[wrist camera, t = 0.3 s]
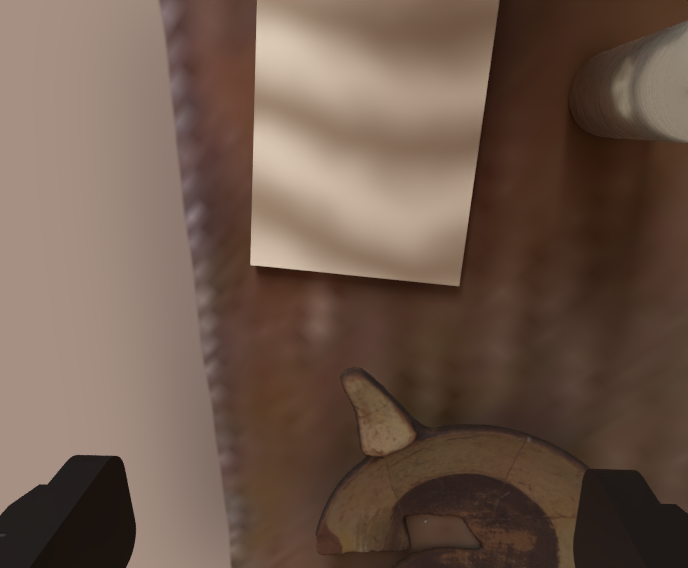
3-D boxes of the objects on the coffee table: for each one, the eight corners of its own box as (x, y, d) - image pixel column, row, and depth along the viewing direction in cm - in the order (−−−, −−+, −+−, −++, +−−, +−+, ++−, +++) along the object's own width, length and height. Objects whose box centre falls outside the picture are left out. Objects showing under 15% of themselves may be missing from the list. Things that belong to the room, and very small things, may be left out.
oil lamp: (344, 652, 47) (332, 748, 40) (296, 329, 39) (270, 376, 32) (616, 656, 44) (657, 762, 37) (624, 306, 36) (678, 353, 29)
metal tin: (577, 46, 32) (682, -3, 20) (665, 51, 32) (830, 5, 19) (561, 134, 34) (650, 140, 21) (645, 140, 33) (786, 150, 21)
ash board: (263, -47, 33) (258, -53, 32) (501, -35, 31) (505, -41, 30) (255, 260, 38) (250, 264, 37) (457, 281, 37) (459, 286, 36)
